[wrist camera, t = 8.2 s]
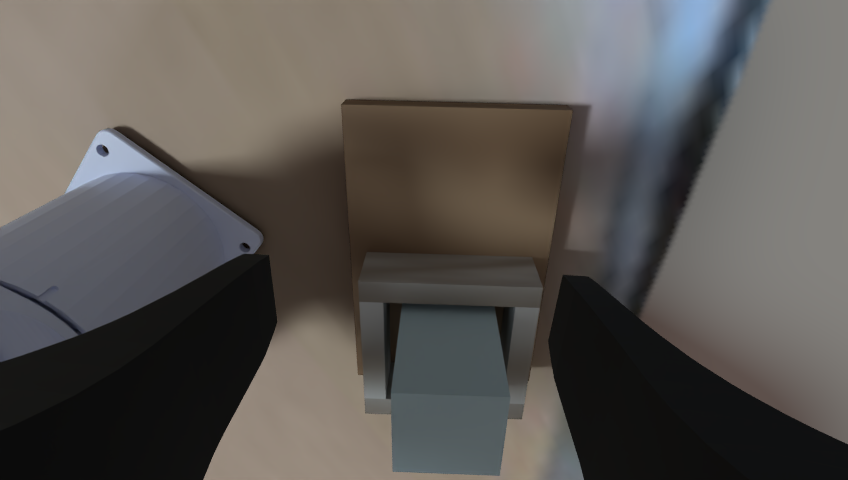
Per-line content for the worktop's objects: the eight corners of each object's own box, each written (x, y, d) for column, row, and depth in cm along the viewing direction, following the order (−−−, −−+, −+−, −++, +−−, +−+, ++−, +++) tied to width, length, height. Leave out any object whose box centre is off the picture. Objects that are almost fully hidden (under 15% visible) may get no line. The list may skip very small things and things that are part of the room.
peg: (484, 350, 24) (499, 475, 17) (405, 347, 24) (392, 471, 17) (490, 283, 22) (510, 397, 16) (405, 280, 22) (390, 393, 16)
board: (345, 99, 19) (327, 119, 16) (566, 105, 19) (591, 125, 16) (360, 362, 26) (349, 412, 22) (525, 368, 25) (537, 420, 22)
